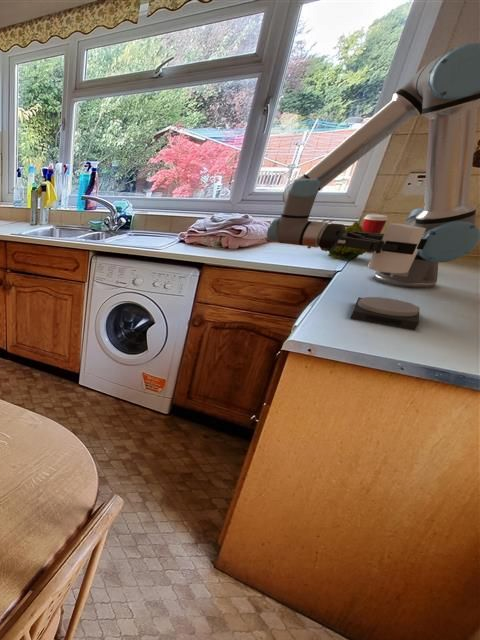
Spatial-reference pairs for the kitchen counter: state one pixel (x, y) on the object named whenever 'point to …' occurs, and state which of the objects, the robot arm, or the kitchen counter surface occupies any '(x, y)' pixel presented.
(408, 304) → the kitchen scale
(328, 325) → the kitchen counter surface
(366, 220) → the paper cup
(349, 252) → the vegetable
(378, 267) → the white stepped block
